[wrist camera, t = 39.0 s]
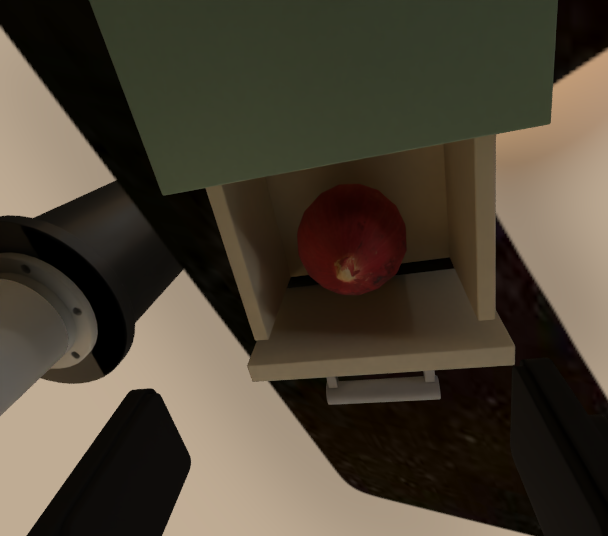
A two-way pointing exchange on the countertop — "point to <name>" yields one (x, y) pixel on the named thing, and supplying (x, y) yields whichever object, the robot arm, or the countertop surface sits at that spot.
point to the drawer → (389, 297)
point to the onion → (351, 239)
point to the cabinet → (322, 79)
